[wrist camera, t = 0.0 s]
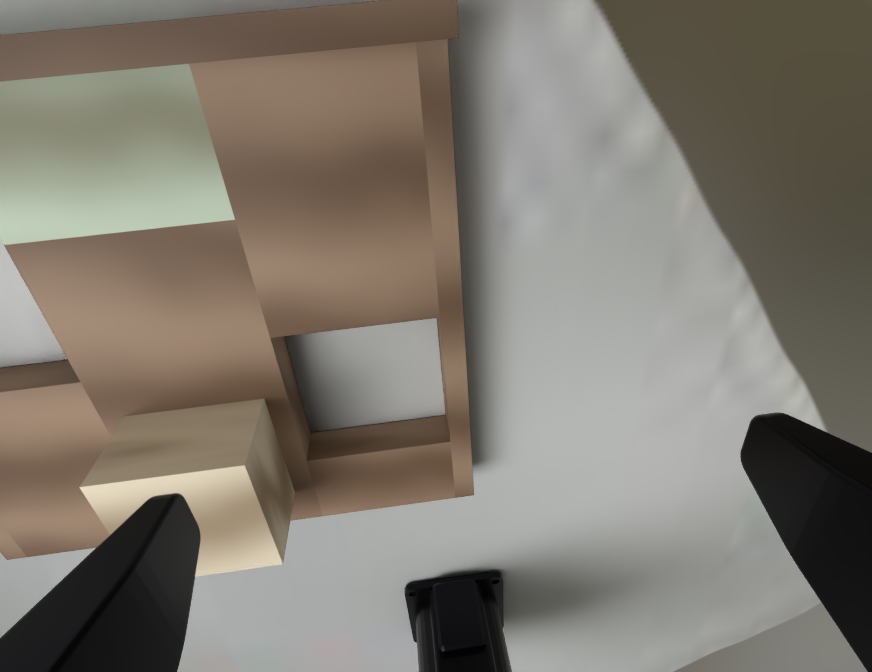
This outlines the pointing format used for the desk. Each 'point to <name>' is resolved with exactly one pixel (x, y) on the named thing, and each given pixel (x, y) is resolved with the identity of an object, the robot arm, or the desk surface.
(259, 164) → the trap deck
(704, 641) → the desk surface
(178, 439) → the birch block
